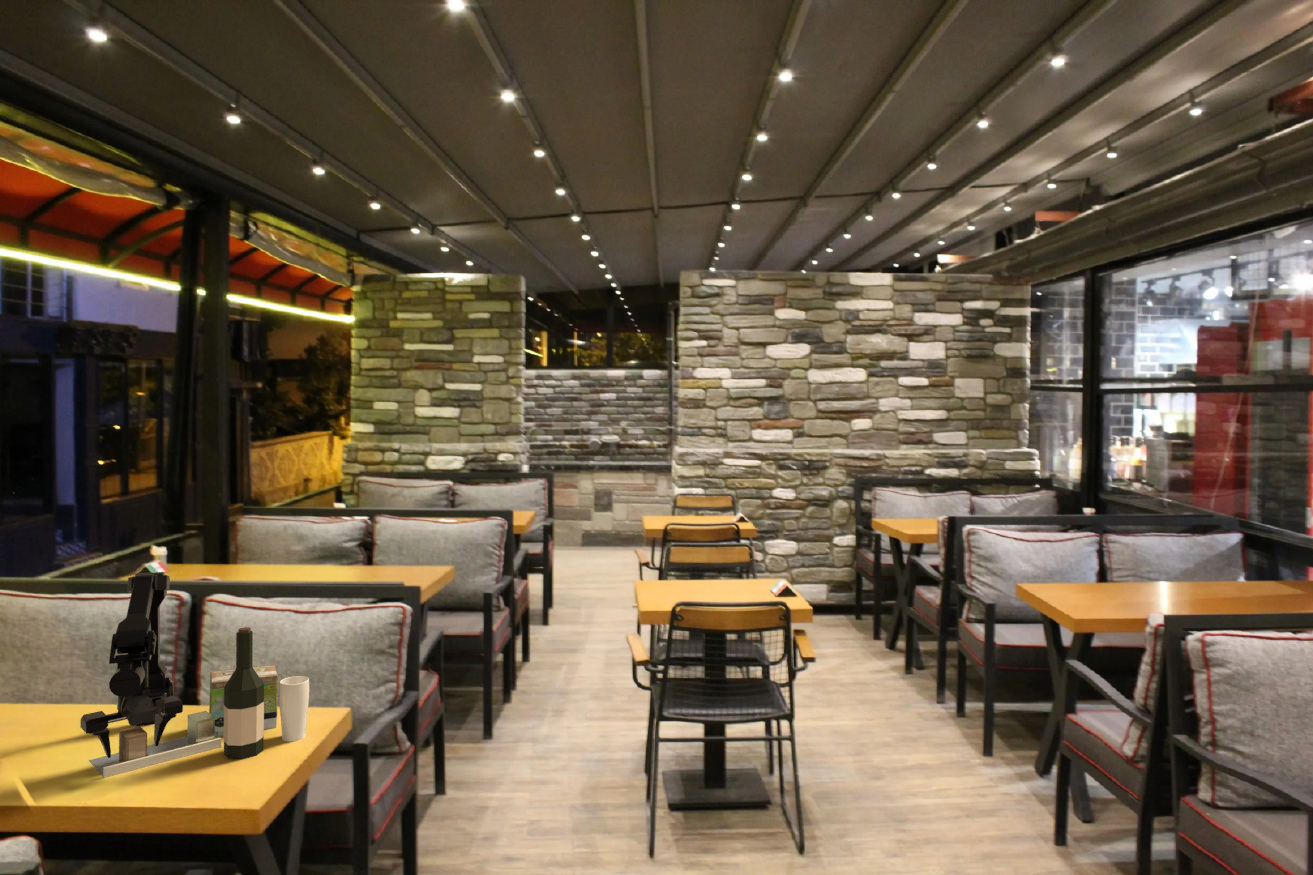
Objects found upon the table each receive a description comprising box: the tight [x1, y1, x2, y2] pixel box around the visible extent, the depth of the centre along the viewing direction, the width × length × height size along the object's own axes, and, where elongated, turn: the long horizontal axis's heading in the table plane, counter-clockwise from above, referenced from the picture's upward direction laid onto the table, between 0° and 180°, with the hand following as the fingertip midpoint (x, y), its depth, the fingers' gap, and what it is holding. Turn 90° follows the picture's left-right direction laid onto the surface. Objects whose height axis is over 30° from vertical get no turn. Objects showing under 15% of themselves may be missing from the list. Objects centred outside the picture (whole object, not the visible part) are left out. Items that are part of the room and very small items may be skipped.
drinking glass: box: [278, 675, 310, 743], centre depth 198 cm, size 7×7×15 cm
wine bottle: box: [223, 626, 265, 761], centre depth 188 cm, size 8×8×30 cm
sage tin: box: [187, 710, 216, 745], centre depth 192 cm, size 6×4×7 cm, turn 47°
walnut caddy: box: [118, 726, 148, 763], centre depth 182 cm, size 6×4×7 cm, turn 47°
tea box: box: [208, 664, 279, 738], centre depth 204 cm, size 15×10×15 cm, turn 120°
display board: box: [88, 735, 222, 779], centre depth 187 cm, size 24×13×3 cm, turn 137°
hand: (133, 751), depth 182 cm, fingers open, 9 cm apart
